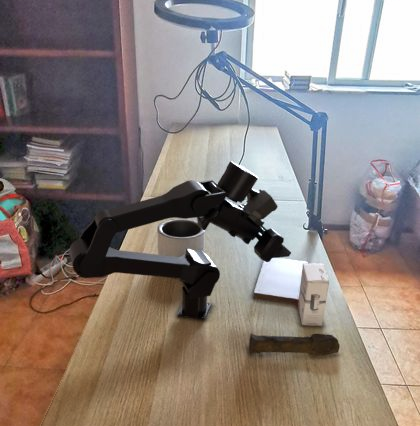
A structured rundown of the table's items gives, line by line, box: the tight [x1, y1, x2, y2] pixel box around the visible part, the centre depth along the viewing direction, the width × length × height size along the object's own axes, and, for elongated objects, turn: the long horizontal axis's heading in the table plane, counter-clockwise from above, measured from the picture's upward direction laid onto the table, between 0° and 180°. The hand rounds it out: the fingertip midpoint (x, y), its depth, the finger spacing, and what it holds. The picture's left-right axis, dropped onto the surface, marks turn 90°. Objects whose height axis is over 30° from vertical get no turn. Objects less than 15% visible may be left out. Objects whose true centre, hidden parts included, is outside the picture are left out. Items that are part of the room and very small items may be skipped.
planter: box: [157, 218, 206, 257], centre depth 130 cm, size 12×12×11 cm
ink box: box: [297, 262, 330, 327], centre depth 112 cm, size 9×5×12 cm, turn 178°
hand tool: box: [248, 332, 341, 357], centre depth 102 cm, size 19×4×5 cm, turn 87°
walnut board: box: [252, 257, 309, 305], centre depth 127 cm, size 20×12×2 cm, turn 167°
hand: (280, 245), depth 113 cm, fingers open, 9 cm apart
